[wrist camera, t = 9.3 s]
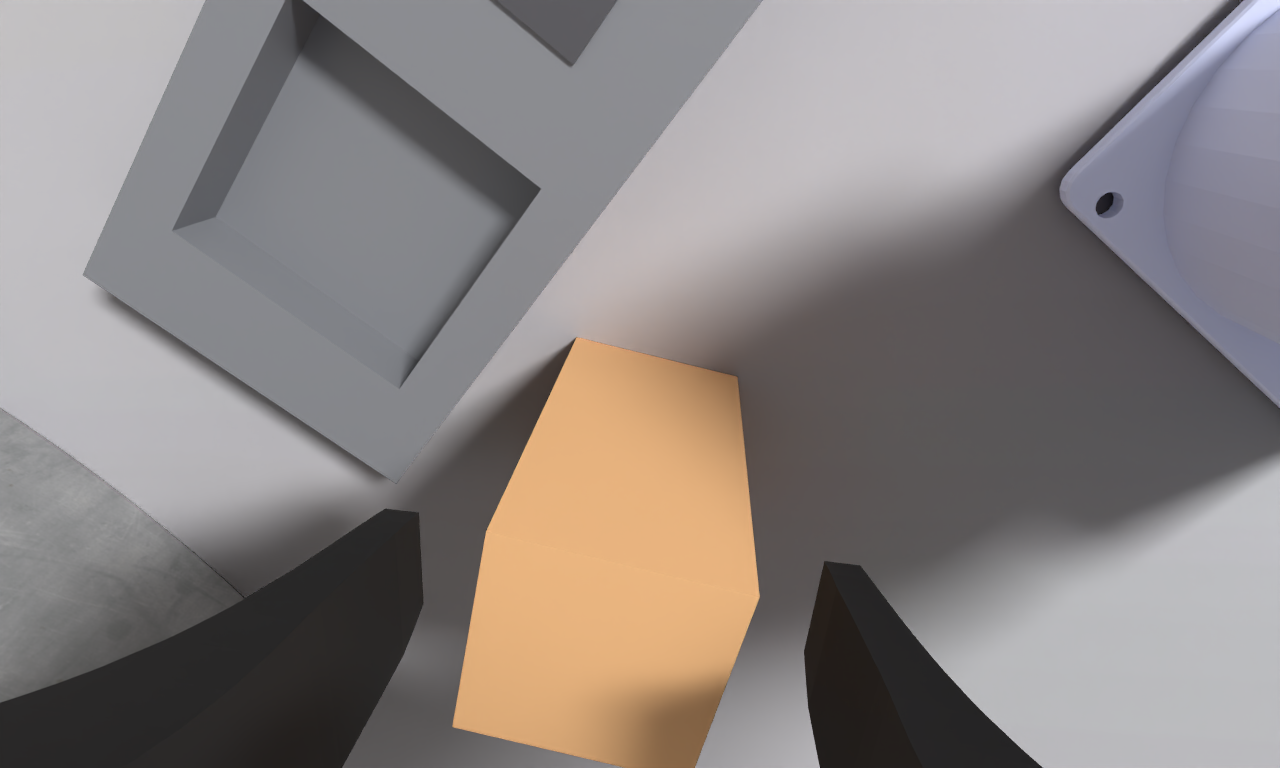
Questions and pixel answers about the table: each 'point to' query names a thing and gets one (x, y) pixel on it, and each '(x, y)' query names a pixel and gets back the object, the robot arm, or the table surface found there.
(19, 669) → the hip flask
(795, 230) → the table surface
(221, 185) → the power strip
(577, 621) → the plug
